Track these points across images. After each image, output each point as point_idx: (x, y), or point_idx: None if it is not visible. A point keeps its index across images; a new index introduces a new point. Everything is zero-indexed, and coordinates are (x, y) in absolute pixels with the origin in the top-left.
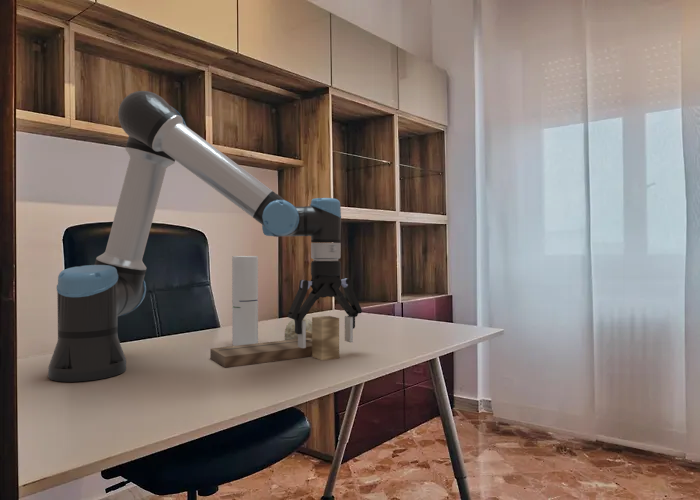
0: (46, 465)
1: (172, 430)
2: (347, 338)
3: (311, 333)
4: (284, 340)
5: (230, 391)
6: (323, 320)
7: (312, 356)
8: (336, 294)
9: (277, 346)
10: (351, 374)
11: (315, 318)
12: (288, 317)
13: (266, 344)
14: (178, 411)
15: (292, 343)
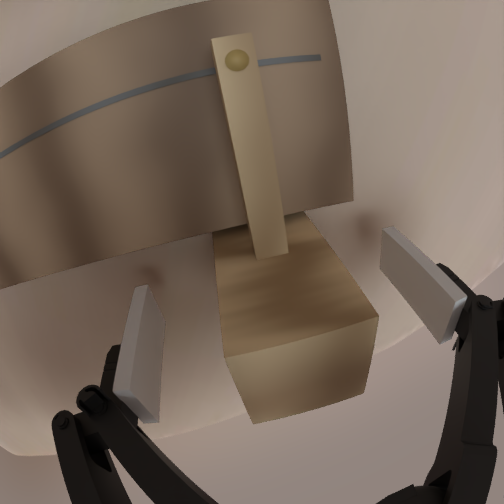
0: (8, 449)
1: (43, 450)
2: (388, 256)
3: (239, 178)
4: (107, 33)
5: (42, 410)
6: (263, 417)
7: None
8: (448, 479)
9: (52, 191)
10: None
11: (236, 386)
12: (61, 416)
13: (11, 132)
14: (23, 429)
15: (129, 129)
